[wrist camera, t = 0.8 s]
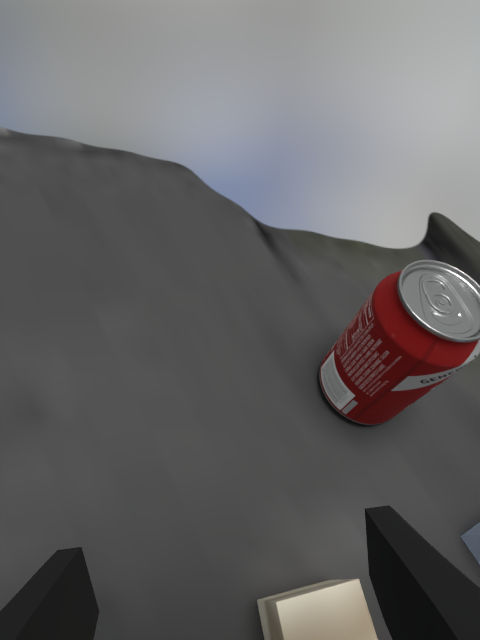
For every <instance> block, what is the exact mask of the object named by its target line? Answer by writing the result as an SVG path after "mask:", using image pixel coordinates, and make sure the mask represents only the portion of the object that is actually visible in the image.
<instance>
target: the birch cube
mask: <svg viewBox="0 0 480 640" xmlns="http://www.w3.org/2000/svg"><path fill="white" fill-rule="evenodd" d="M257 604H258V609H259V614H260V619H261V624H262V629H263V634H264V640H378V639H377V636H376V633H375V630H374V626H373V623H372V620H371V617H370V614H369V610H368V607H367V604H366V601H365V598H364V594H363V591H362V588H361V585H360V582H359V579H341V580H326V581H323V582H319V583H316V584H312V585H308V586H305V587H301V588H298V589H294V590H291V591H287V592H283V593H280V594H276V595H273V596H269V597H265V598H262V599H258V600H257Z"/></svg>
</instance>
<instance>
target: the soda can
mask: <svg viewBox="0 0 480 640" xmlns="http://www.w3.org/2000/svg"><path fill="white" fill-rule="evenodd" d="M479 352H480V285H479V284H478V283H477V282H476V281H475V280H473V279H472V278H471V277H470V276H469V275H467V274H466V273H464V272H463V271H461V270H459V269H458V268H456V267H454V266H451V265H449V264H446V263H443V262H439V261H434V260H420V261H416V262H413V263H411V264H409V265H408V266H406V267H405V268H404V269H403V271H400V272H396V273H393V274H391V275H389V276H387V277H386V278H384V279H383V280H382V281H381V282H380V283H379V284H378V285H377V287H376V288H375V290H374V291H373V292H372V294H371V295H370V296H369V298H368V299H367V300H366V302H365V303H364V304H363V306H362V307H361V309H360V310H359V311H358V313H357V314H356V315H355V317H354V318H353V319H352V321H351V322H350V323H349V325H348V326H347V328H346V329H345V330H344V332H343V333H342V334H341V336H340V337H339V338H338V340H337V341H336V342H335V344H334V345H333V347H332V348H331V349H330V351H329V352H328V353H327V355H326V356H325V357H324V359H323V361H322V363H321V366H320V371H319V380H320V385H321V388H322V391H323V393H324V395H325V397H326V399H327V400H328V402H329V403H330V404H331V406H332V407H333V408H334V409H335V410H336V411H337V412H338V413H340V414H341V415H342V416H344V417H345V418H347V419H349V420H351V421H353V422H356V423H359V424H364V425H377V424H381V423H384V422H387V421H388V420H390V419H391V418H393V417H394V416H396V415H397V414H398V413H400V412H401V411H403V410H404V409H405V408H407V407H408V406H410V405H411V404H412V403H414V402H415V401H417V400H418V399H419V398H421V397H422V396H424V395H425V394H426V393H428V392H429V391H431V390H432V389H433V388H435V387H436V386H437V385H439V384H440V383H442V382H443V381H444V380H446V379H447V378H449V377H450V376H451V375H453V374H454V373H456V372H457V371H458V370H460V369H461V368H463V367H464V366H465V365H467V364H468V363H470V362H471V361H472V360H474V359H475V358H476V356H477V355H478V354H479Z"/></svg>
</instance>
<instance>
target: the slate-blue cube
mask: <svg viewBox="0 0 480 640" xmlns="http://www.w3.org/2000/svg"><path fill="white" fill-rule="evenodd" d="M461 538H462V539H463V541H464V542H465V544H466V545H467V547H468V548H469V550H470V551H471V553H472V554H473V556H474V557H475V559H476V560H477V562H478V563H479V564H480V522H479V523H478V524H477V525H475V526H474V527H473V528H471V529H470V530H469V531H467V532H466V533H465V534H463V535H462V536H461Z"/></svg>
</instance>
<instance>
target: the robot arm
mask: <svg viewBox="0 0 480 640" xmlns="http://www.w3.org/2000/svg"><path fill="white" fill-rule="evenodd" d="M365 519H366V534H367V548H368V563H369V576H370V579H371V582H372V585H373V588H374V591H375V594H376V597H377V600H378V603H379V606H380V609H381V612H382V615H383V618H384V621H385V623H386V625H387V628H388V630H389V632H390V635H391V637H392V639H393V640H480V588H479V587H478V586H477V585H476V584H475V583H473V582H472V581H471V580H470V579H469V578H467V577H466V576H465V575H464V574H463V573H462V572H461V571H459V570H458V569H457V568H456V567H455V566H454V565H453V564H451V563H450V562H449V561H448V560H447V559H446V558H445V557H443V556H442V555H441V554H440V553H439V552H438V551H437V550H436V549H435V548H434V547H433V546H431V545H430V544H429V543H428V542H427V541H426V540H425V539H424V538H423V537H422V536H421V535H420V534H419V533H418V532H417V531H416V530H414V529H413V528H412V527H411V526H410V525H409V524H408V523H407V522H406V521H405V520H404V519H403V518H402V517H401V516H400V515H399V514H398V513H397V512H396V511H395V510H394V509H393V508H391V507H390V506H382V507H375V508H367V509H365ZM98 614H99V609H98V605H97V602H96V598H95V595H94V591H93V587H92V584H91V580H90V576H89V573H88V569H87V566H86V562H85V558H84V555H83V551H82V547H78V548H71V549H64V550H57V551H56V552H55V554H54V555H53V556H52V557H51V558H50V559H49V560H48V561H47V562H46V563H45V564H44V565H43V566H42V567H41V568H40V569H39V570H38V571H37V572H36V574H35V575H34V576H33V577H32V578H31V579H30V580H29V581H28V582H27V583H26V584H25V586H24V587H23V588H22V589H21V590H20V591H19V592H18V593H17V594H16V595H15V596H14V597H13V599H12V600H11V601H10V602H9V603H8V604H7V605H6V606H5V607H4V608H3V609H2V610H1V611H0V640H93V638H94V634H95V629H96V624H97V619H98Z"/></svg>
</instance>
